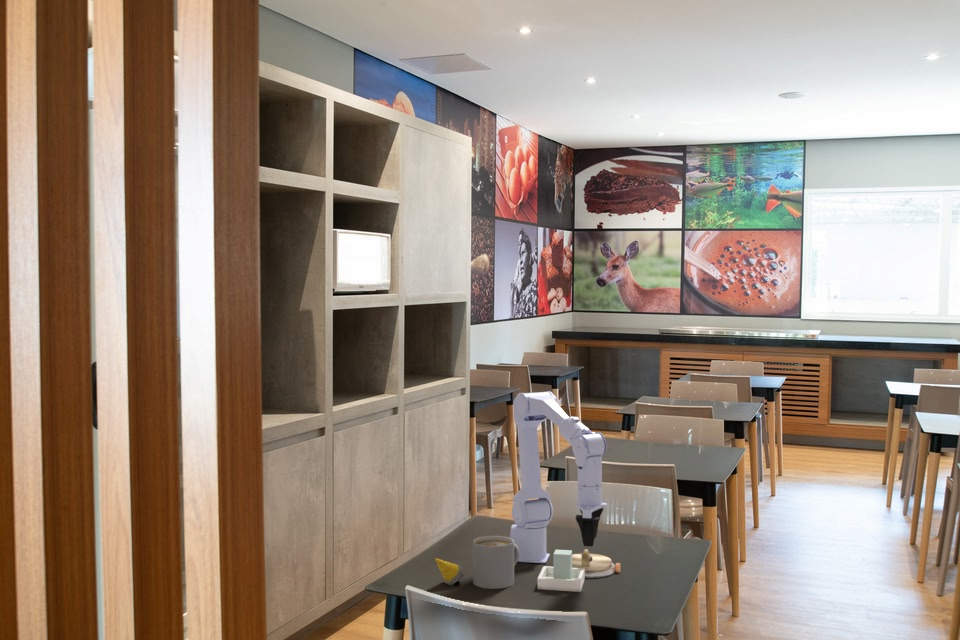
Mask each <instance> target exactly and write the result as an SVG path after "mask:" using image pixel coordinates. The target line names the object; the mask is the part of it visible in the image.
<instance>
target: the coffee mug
mask: <svg viewBox="0 0 960 640" xmlns="http://www.w3.org/2000/svg"><path fill="white" fill-rule="evenodd" d="M518 558H519V549H518V546H517V545H516V544H514V540H513V539H511V538H510V536H509V537H508V536H505V535H484V536H479V537H475V538H474V539H473V541H472V583H473V585H474V586H476V587H479V588H481V589H487V590H488V589H489V590H492V589H493V590H494V589H495V590H496V589H498V590H500V589H506V588H510V587H511V586H513V585H514V584H515V567H516V566H517V563H519V562H518Z"/></svg>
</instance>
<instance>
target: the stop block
mask: <svg viewBox="0 0 960 640" xmlns="http://www.w3.org/2000/svg"><path fill="white" fill-rule="evenodd" d="M572 555H573V550H571V549H570V550H568V549H554V552H553V560H552V563H553V566H552V567H553V570H554V578H556V579H572Z"/></svg>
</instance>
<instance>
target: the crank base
mask: <svg viewBox="0 0 960 640" xmlns="http://www.w3.org/2000/svg"><path fill="white" fill-rule="evenodd" d="M617 573H621V563H620V562H616V563H615V564H614V563H613V562H612V566H611V568H609V569H607V570H604V571H598V572H585V579H598V578H606V577H610V576H612V575H614V574H617Z"/></svg>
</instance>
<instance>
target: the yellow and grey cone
mask: <svg viewBox="0 0 960 640" xmlns="http://www.w3.org/2000/svg"><path fill="white" fill-rule="evenodd" d="M434 560H435V562H436V564H437V565H436V566H437V567H438V568H439V571H440V574H441V575H442V581H443V582H444V583H445V584H446V585H448V586H452V585H454V584H455V583H457V582H462V579H463V578H464V577H465V574H464V573H463V571H464V570H463V567H462V565H460V564H459V563H456V562H455V563H453V562H449V561H446V560H443V559H440V558H434Z"/></svg>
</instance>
